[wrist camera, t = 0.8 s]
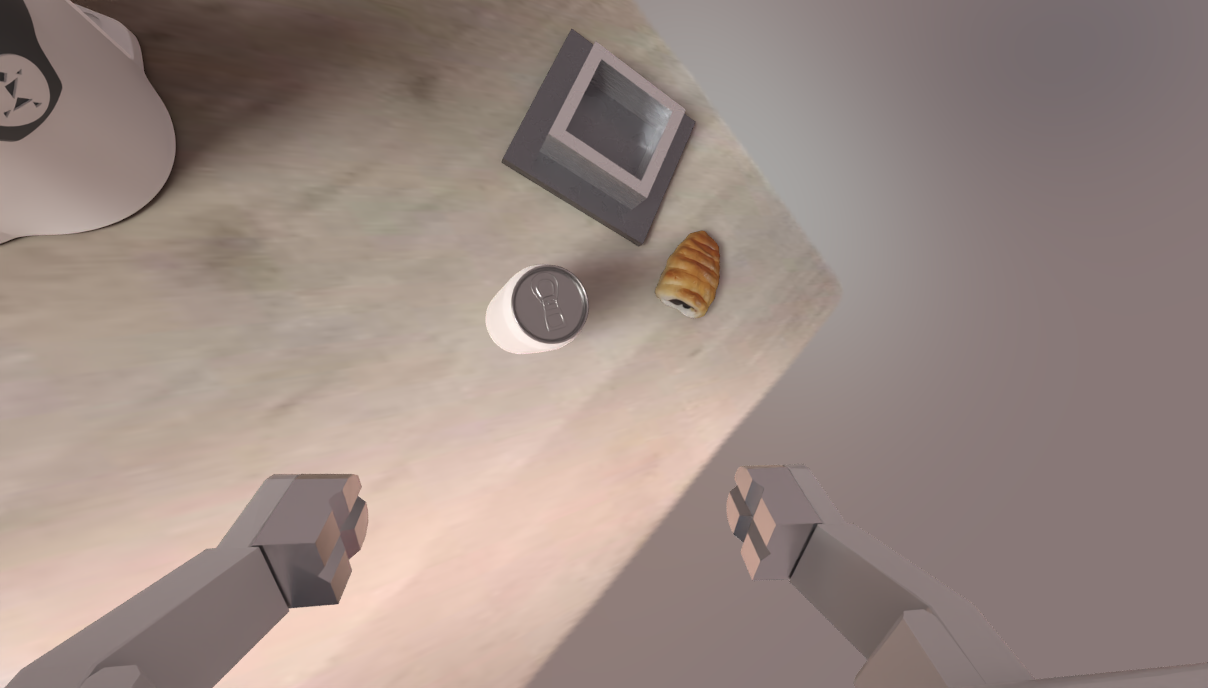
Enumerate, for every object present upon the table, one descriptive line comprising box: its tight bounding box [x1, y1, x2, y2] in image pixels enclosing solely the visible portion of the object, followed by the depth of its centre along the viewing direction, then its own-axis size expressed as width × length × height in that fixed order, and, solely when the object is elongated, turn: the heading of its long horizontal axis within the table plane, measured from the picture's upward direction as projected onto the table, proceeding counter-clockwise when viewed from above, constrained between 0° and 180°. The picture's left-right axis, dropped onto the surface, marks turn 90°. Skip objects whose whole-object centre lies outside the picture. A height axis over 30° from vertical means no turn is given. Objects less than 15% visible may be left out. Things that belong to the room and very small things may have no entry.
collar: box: [502, 29, 695, 246], centre depth 44 cm, size 16×16×4 cm
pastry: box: [655, 231, 720, 318], centre depth 48 cm, size 9×7×4 cm
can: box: [486, 264, 589, 354], centre depth 37 cm, size 6×6×12 cm
